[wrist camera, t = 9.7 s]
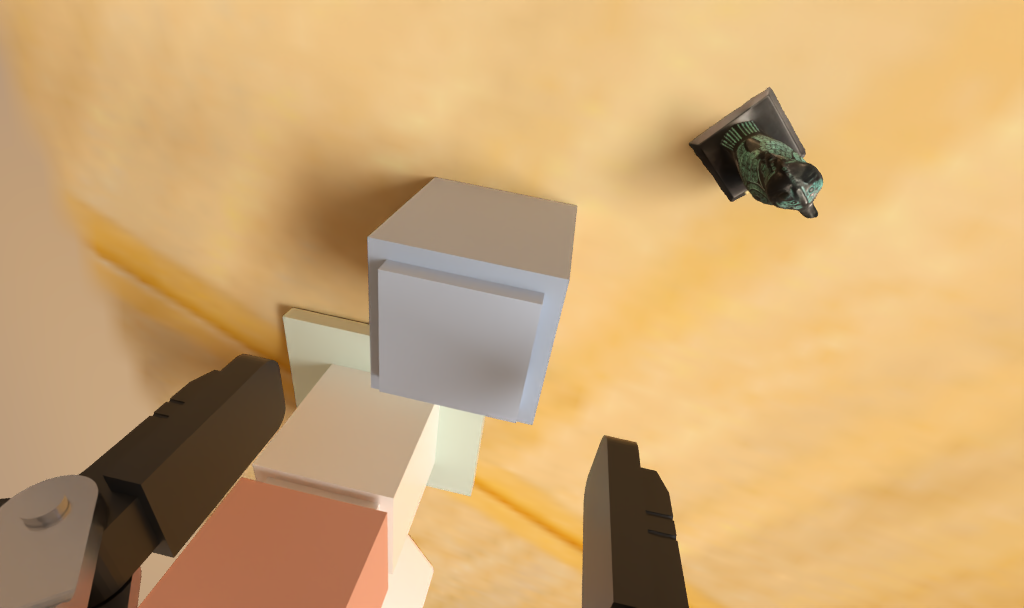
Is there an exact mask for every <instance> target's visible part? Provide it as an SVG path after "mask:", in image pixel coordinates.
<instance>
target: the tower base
mask: <svg viewBox="0 0 1024 608" xmlns="http://www.w3.org/2000/svg"><path fill="white" fill-rule="evenodd" d="M283 322H284V329H285V335H286V342H287V348H288V355H289V361H290V367H291V374H292V380H293V387H294V393H295V400H296V406H297V409H296V410H295V411H294V412H293V414H292V415H291V416H290V417H289V419H288V420H287V421H286V422H285V424H284V425H283V426H282V427H281V429H280V430H279V431H278V432H277V434H276V435H275V436H274V437H273V439H272V440H271V441H270V442H269V444H268V445H267V446H266V447H265V449H264V450H263V451H262V453H261V454H260V455H259V456H258V458H257V459H256V460H255V461H254V463H253V464H252V465H253V469H254V473H255V477H256V481H259V482H263V483H267V484H271V485H275V486H280V487H284V488H288V489H292V490H296V491H300V492H305V493H309V494H313V495H317V496H321V497H325V498H329V499H334V500H338V501H342V502H346V503H350V504H354V505H358V506H363V507H367V508H371V509H375V510H379V511H383V512H387V527H388V573H389V574H393V572H394V570H395V567H396V564H397V562H398V559H399V556H400V554H401V551H402V548H403V546H404V543H405V540H406V538H407V535H408V532H409V530H410V527H411V524H412V522H413V519H414V516H415V513H416V511H417V508H418V505H419V503H420V500H421V497H422V495H423V492H424V489H425V487H426V486H430V487H434V488H438V489H442V490H446V491H450V492H455V493H459V494H463V495H467V496H471V493H472V489H473V486H474V480H475V474H476V468H477V462H478V456H479V450H480V444H481V438H482V432H483V426H484V420H485V416H483V415H479V414H474V413H470V412H466V411H461V410H457V409H453V408H448V407H444V406H440V405H436V404H431V403H427V402H423V401H418V400H414V399H410V398H405V397H401V396H397V395H392V394H388V393H384V392H379V389H375V388H371V366H370V325H369V324H365V323H361V322H356V321H352V320H347V319H343V318H338V317H333V316H329V315H324V314H320V313H315V312H311V311H306V310H302V309H297V308H293V307H292V308H291V309H290V310H289V311H288V312H287V313H286V314H285V315H284V316H283Z"/></svg>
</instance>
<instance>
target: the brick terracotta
mask: <svg viewBox="0 0 1024 608" xmlns="http://www.w3.org/2000/svg"><path fill="white" fill-rule="evenodd" d="M387 591H388V527H387V512H383V511H379V510H375V509H371V508H367V507H363V506H358V505H354V504H350V503H346V502H342V501H338V500H334V499H329V498H325V497H321V496H317V495H313V494H309V493H305V492H300V491H296V490H292V489H288V488H284V487H280V486H275V485H271V484H267V483H263V482H259V481H255V480H251V479H246V478H241V479H240V480H239V481H238V483H237V484H236V485H235V486H234V488H233V489H232V490H231V491H230V493H229V494H228V495H227V496H226V498H225V499H224V500H223V501H222V503H221V504H220V505H219V506H218V508H217V509H216V510H215V511H214V513H213V514H212V515H211V516H210V518H209V519H208V520H207V521H206V523H205V524H204V525H203V527H202V528H201V529H200V530H199V532H198V533H197V534H196V535H195V537H194V538H193V539H192V540H191V542H190V543H189V544H188V545H187V547H186V548H185V549H184V550H183V552H182V553H181V554H180V555H179V557H178V558H177V559H176V560H175V562H174V563H173V564H172V565H171V567H170V568H169V569H168V570H167V572H166V573H165V574H164V576H163V577H162V578H161V579H160V580H159V582H158V583H157V584H156V586H155V587H154V588H153V589H152V591H151V592H150V593H149V594H148V596H147V597H146V598H145V599H144V601H143V602H142V603H141V604H140V606H139V607H138V608H381V607H382V604H383V601H384V599H385V596H386V593H387Z"/></svg>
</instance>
